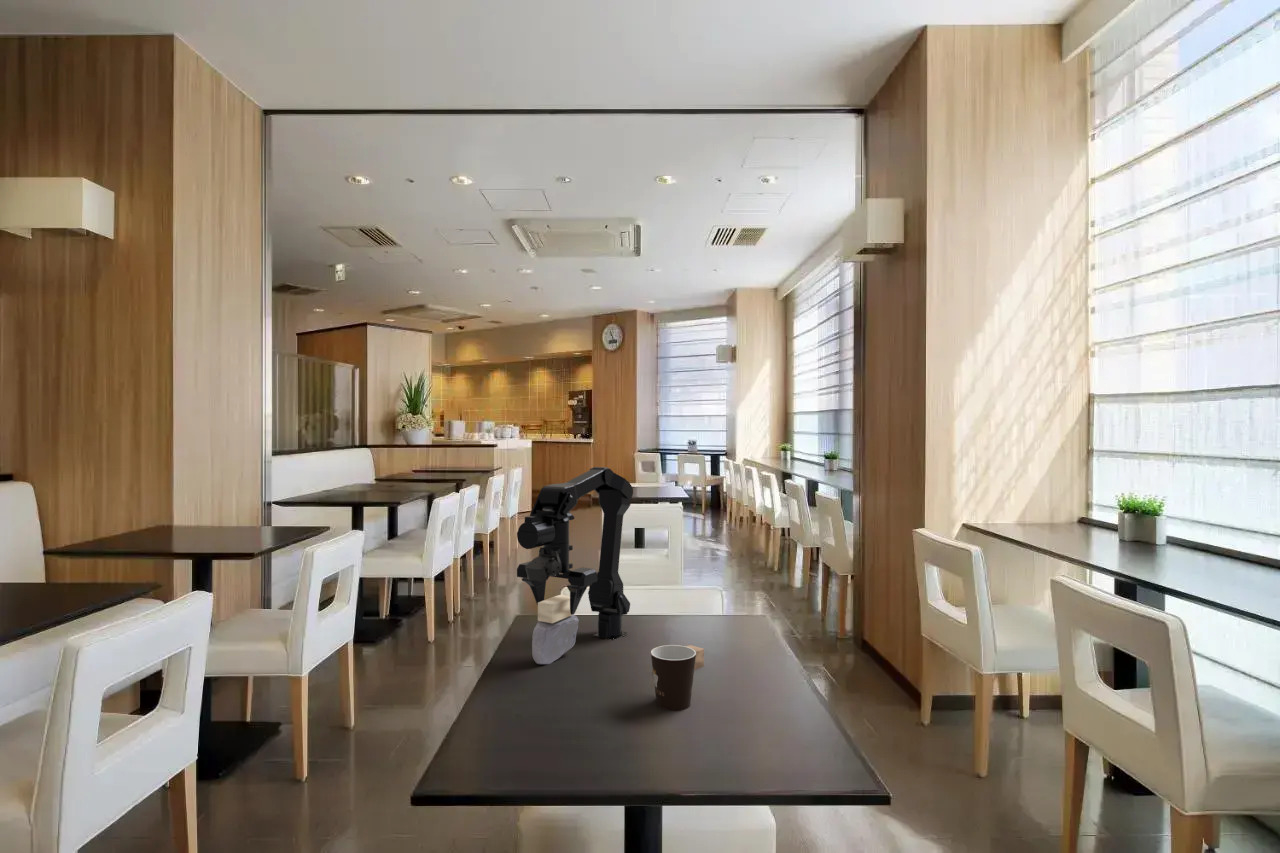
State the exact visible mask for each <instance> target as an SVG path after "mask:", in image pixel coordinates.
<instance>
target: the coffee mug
mask: <svg viewBox="0 0 1280 853" xmlns="http://www.w3.org/2000/svg"><path fill="white" fill-rule="evenodd" d="M650 656H651V666H652V676H653V685H654V693H655V702H656V706H658V708H660V709H663V710H666V711H673V712H676V711H677V712H678V711H684V710H687V709H689V708H690V706H691V701H692V694H693V693H692V692H693V683H694V675H695V670H694V668H695V659H696V651H695V650H694V649H692V648H689V647H686V646H685V645H679V644H669V645H668V644H666V645H660V646H657V647H654V648H652V649H651V651H650Z"/></svg>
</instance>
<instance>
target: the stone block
mask: <svg viewBox="0 0 1280 853" xmlns="http://www.w3.org/2000/svg"><path fill="white" fill-rule="evenodd" d="M579 622H580V619H579V618H578V616H577V615H576V614H574V615H571V616H569V617H566V618H564V619H562V620H559V621H557V622H554V623H548V622H542V621H537V623H536V625H535V627H534V628H533V632H532V641H531V647H532V654H531V655H532V659H533V661H534V662H535V664H537V665H550V664H552V663H554V662H555V661H557V660H558V659H560V658H561V657H562V656H563V655H564V654H565V653H567V652H568V651H569V650H570V649H572V648H573V647H574V646H575V643H576V638H577V633H578V629H579Z"/></svg>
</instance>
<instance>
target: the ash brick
mask: <svg viewBox="0 0 1280 853" xmlns="http://www.w3.org/2000/svg"><path fill="white" fill-rule="evenodd" d="M573 615H575V614H573ZM569 616H571V613H570V595H564V594H558V595H555V596H552V597H549V598H546V599H544V601H541V602H538V606H537V622H540V621H542V622H548V623H554V622H557V621H559V620H562V619H564V618H566V617H569Z"/></svg>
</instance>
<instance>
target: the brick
mask: <svg viewBox="0 0 1280 853" xmlns="http://www.w3.org/2000/svg"><path fill="white" fill-rule="evenodd" d="M686 647H689V648H692V649H694V650H695V651H696V659H695V668H694V671H695V670H698V669H700V668H702V667H705V664H704V663H705V648H702V647H697V646H695V645H691V644H688V645H687V646H686Z"/></svg>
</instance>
